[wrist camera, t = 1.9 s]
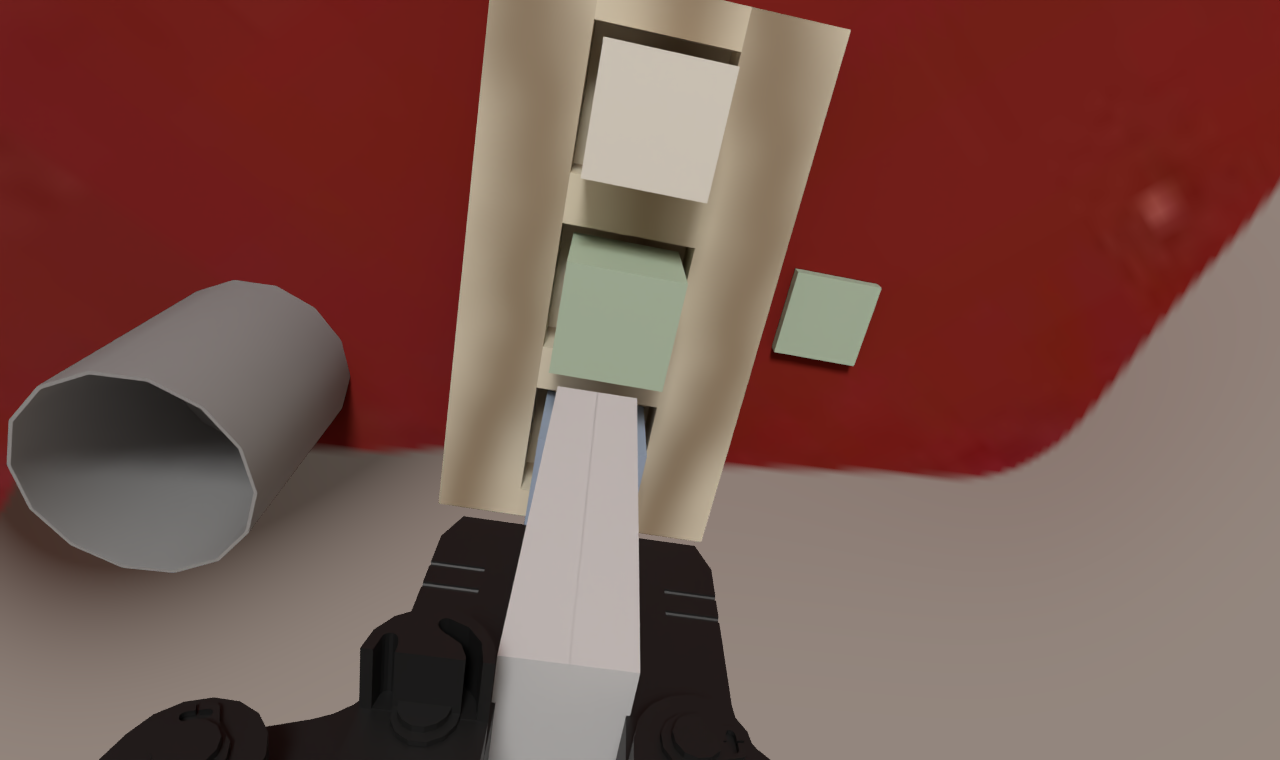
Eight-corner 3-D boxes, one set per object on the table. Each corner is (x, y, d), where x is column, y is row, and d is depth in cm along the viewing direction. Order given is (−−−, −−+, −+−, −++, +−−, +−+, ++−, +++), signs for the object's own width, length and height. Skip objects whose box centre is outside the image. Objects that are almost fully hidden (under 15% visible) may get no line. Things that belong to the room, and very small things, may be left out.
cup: (349, 296, 33) (249, 391, 24) (350, 448, 37) (263, 582, 28) (157, 269, 33) (-20, 357, 23) (177, 427, 36) (29, 558, 27)
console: (451, 469, 37) (438, 503, 35) (506, -44, 28) (494, -53, 25) (695, 507, 39) (701, 542, 36) (829, 31, 29) (850, 30, 26)
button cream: (585, 159, 29) (580, 178, 25) (605, 37, 27) (603, 36, 23) (694, 181, 29) (706, 203, 25) (721, 63, 28) (739, 66, 23)
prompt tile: (771, 347, 35) (774, 352, 34) (795, 268, 33) (798, 272, 33) (850, 361, 35) (853, 366, 35) (877, 284, 34) (881, 288, 33)
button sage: (557, 330, 32) (549, 372, 28) (573, 231, 30) (566, 261, 26) (656, 348, 33) (662, 391, 28) (678, 251, 31) (688, 284, 27)
